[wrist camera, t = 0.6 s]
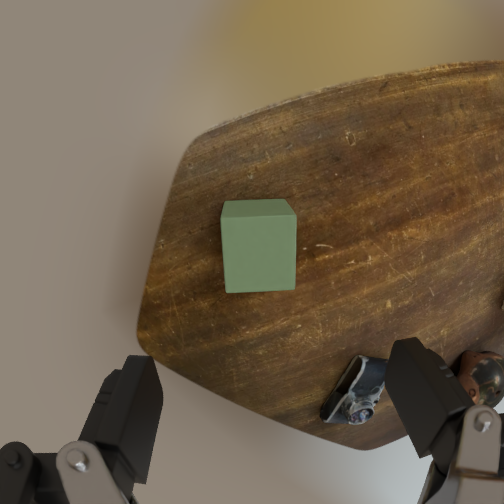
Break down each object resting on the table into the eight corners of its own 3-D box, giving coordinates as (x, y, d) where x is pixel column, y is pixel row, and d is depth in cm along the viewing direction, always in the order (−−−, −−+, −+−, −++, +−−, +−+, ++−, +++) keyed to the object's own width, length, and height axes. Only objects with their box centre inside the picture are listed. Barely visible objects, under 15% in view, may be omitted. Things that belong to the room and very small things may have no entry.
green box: (224, 200, 22) (220, 217, 18) (284, 198, 22) (296, 214, 18) (228, 263, 24) (225, 293, 19) (284, 260, 24) (295, 290, 20)
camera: (396, 354, 29) (411, 379, 25) (351, 414, 32) (360, 440, 28) (359, 348, 28) (372, 376, 24) (316, 412, 31) (323, 440, 28)
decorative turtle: (444, 342, 29) (483, 382, 21) (504, 334, 31) (537, 362, 24) (412, 402, 32) (440, 444, 24) (477, 386, 34) (503, 415, 27)
